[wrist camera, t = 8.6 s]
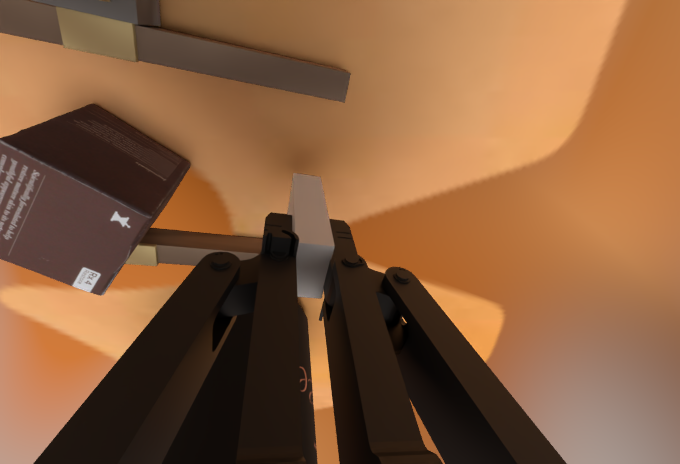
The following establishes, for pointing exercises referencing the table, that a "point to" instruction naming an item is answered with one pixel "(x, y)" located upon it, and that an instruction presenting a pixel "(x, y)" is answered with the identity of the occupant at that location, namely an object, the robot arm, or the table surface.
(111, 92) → the table surface
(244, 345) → the coffee jar
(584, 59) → the table surface
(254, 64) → the brown angular bar frame
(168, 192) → the box
